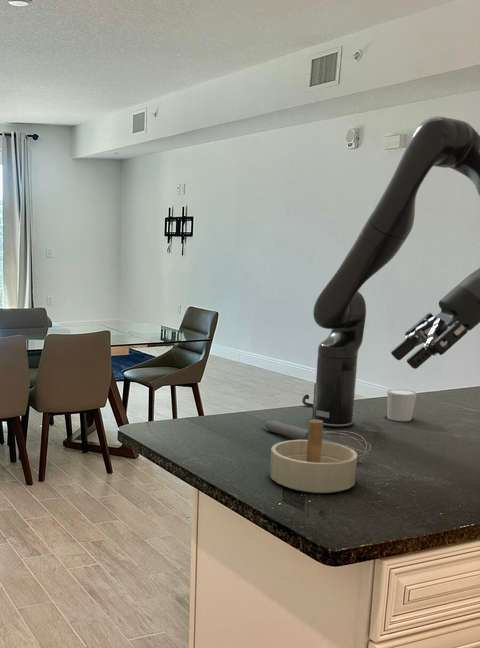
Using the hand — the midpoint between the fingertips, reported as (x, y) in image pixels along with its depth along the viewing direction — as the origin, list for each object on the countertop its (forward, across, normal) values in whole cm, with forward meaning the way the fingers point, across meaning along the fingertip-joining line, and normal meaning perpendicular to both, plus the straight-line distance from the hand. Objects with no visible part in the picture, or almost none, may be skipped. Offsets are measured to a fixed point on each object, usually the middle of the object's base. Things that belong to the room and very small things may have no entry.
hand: (402, 361), depth 130 cm
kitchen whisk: (+24, -21, +9) cm, 33 cm away
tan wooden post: (+27, +1, +6) cm, 27 cm away
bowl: (+27, +1, +6) cm, 28 cm away
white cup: (+4, -48, +29) cm, 56 cm away
